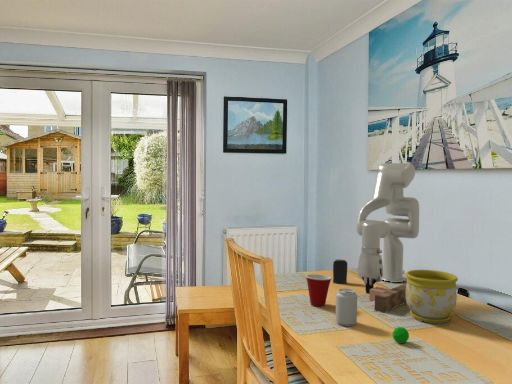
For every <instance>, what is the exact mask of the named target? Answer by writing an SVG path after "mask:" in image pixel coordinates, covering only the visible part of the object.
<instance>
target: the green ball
mask: <svg viewBox="0 0 512 384" xmlns="http://www.w3.org/2000/svg"><path fill="white" fill-rule="evenodd" d="M392 338H393V340H394V342H396V343H398V344H400V343H401V344H404V343H407V342H408V340H409V339H410V333H409V331H408V330H407V329H406V328H405V327H403V326H398V327H395V329H394V330H393V331H392Z"/></svg>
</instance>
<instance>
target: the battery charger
mask: <svg viewBox="0 0 512 384" xmlns="http://www.w3.org/2000/svg"><path fill="white" fill-rule="evenodd" d="M347 277H348V261H347V260H346V259H340V258H339V259H336V258H335V259H334V260H333V262H332V283H333V284H335V283H336V284H347V281H348V279H347Z"/></svg>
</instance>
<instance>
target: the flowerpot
mask: <svg viewBox="0 0 512 384" xmlns="http://www.w3.org/2000/svg"><path fill="white" fill-rule="evenodd" d="M405 276H406V283H407V285H406V301H407V302H406V304H407V306H408V308H409V309H410V310H409V314H410V315H411V316H412V317H414V318H413V319H415V320H417V321H419V320H421V321H420V322H423V321H424V323H427V322H428V323H429V324H444V323H447V322H448V321H449V320H450V319H451V317H452V316H451V314H452V313H453V312H454V311H455V310H454V309H456V305H457V300H458V299H457V288H456V287H457V282H458V280H459V279H458V276H457V275H455V274H453V273H449V272H445V271H441V270H434V269H433V270H432V269H412V270H408V271H405Z"/></svg>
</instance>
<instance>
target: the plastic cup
mask: <svg viewBox="0 0 512 384" xmlns="http://www.w3.org/2000/svg"><path fill="white" fill-rule="evenodd" d="M304 276H305V278H306V283H307V288H308V297H309V303H310V305H311V306H313V307H317V308H321V307H324V306H326V302H327V297H328V292H329V288H330V284H331V280H333V276H332V277H331V276H330V275H325V274H315V273H314V274H313V273H311V274H305V275H304Z"/></svg>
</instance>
